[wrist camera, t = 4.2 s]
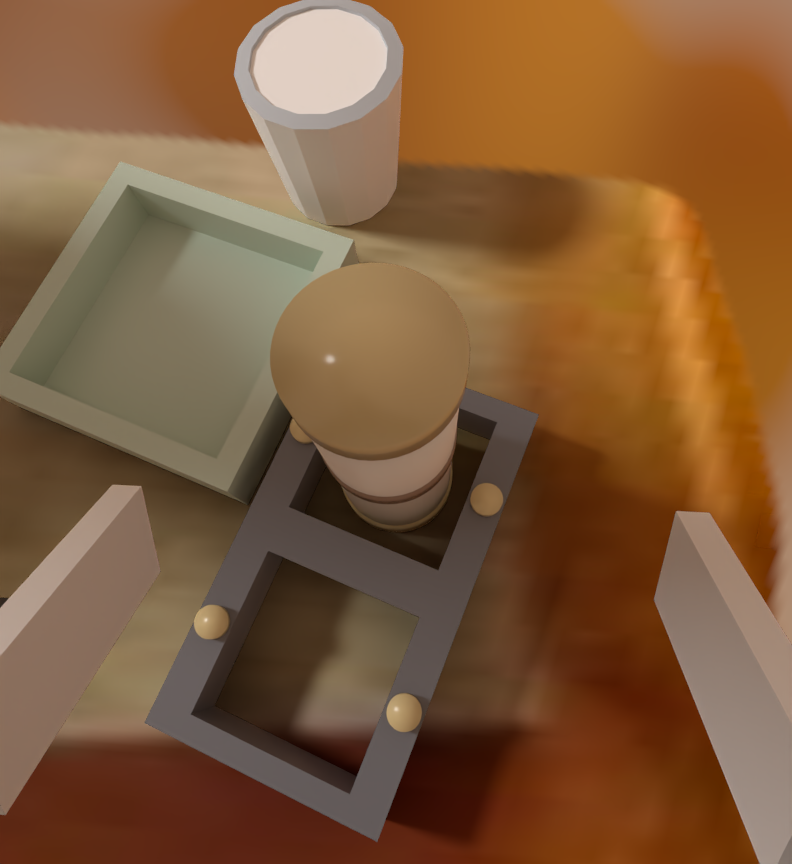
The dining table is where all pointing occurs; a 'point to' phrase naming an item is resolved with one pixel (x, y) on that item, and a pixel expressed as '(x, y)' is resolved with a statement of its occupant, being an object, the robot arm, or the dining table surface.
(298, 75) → the white cylinder
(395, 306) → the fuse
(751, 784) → the robot arm
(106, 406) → the parts tray
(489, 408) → the block
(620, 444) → the dining table surface
